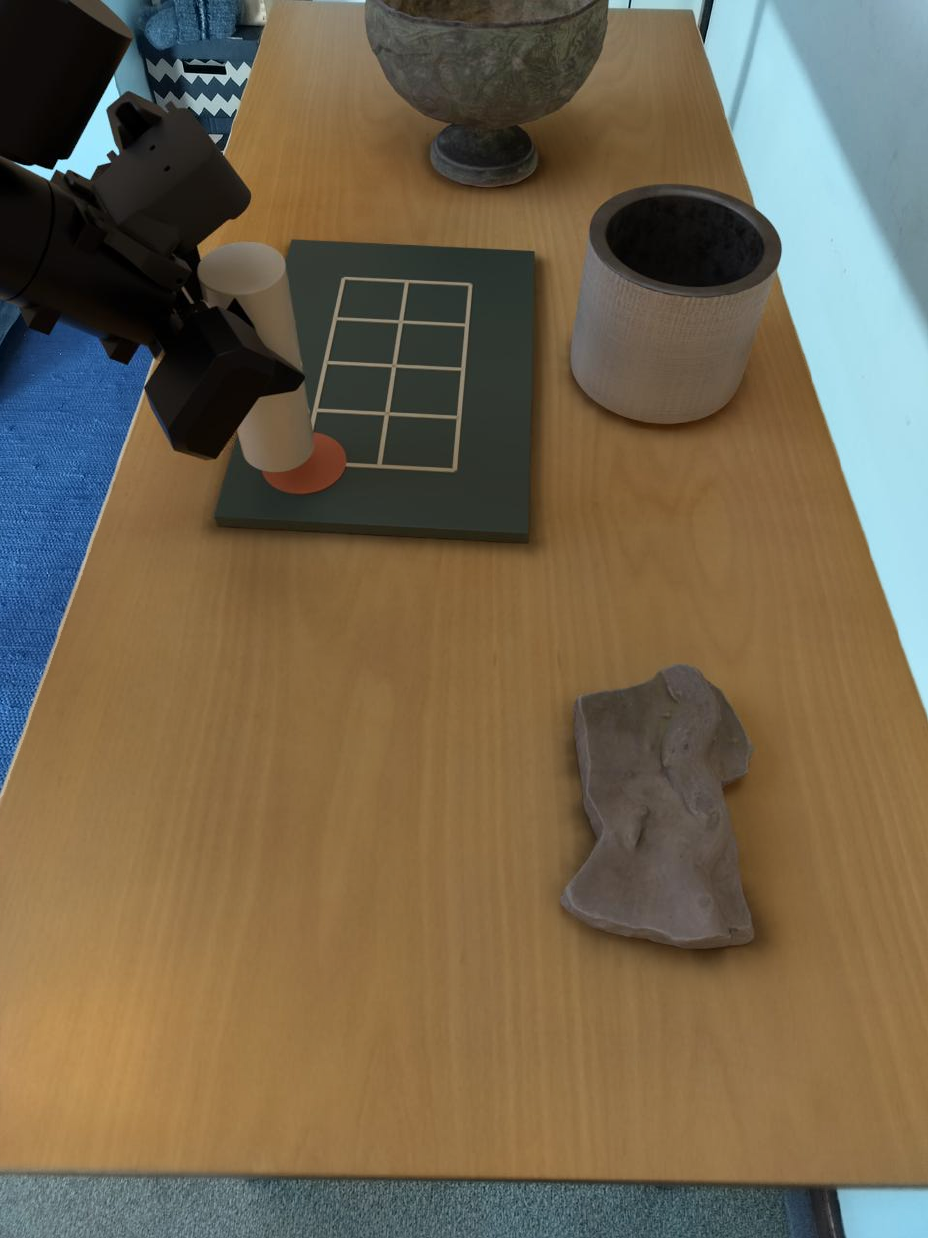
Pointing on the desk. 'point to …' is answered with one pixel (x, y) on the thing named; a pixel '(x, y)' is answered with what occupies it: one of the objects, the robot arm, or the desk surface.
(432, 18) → the bowl
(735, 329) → the planter
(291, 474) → the board
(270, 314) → the white upright cylinder
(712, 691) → the stone
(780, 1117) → the desk surface
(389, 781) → the desk surface
